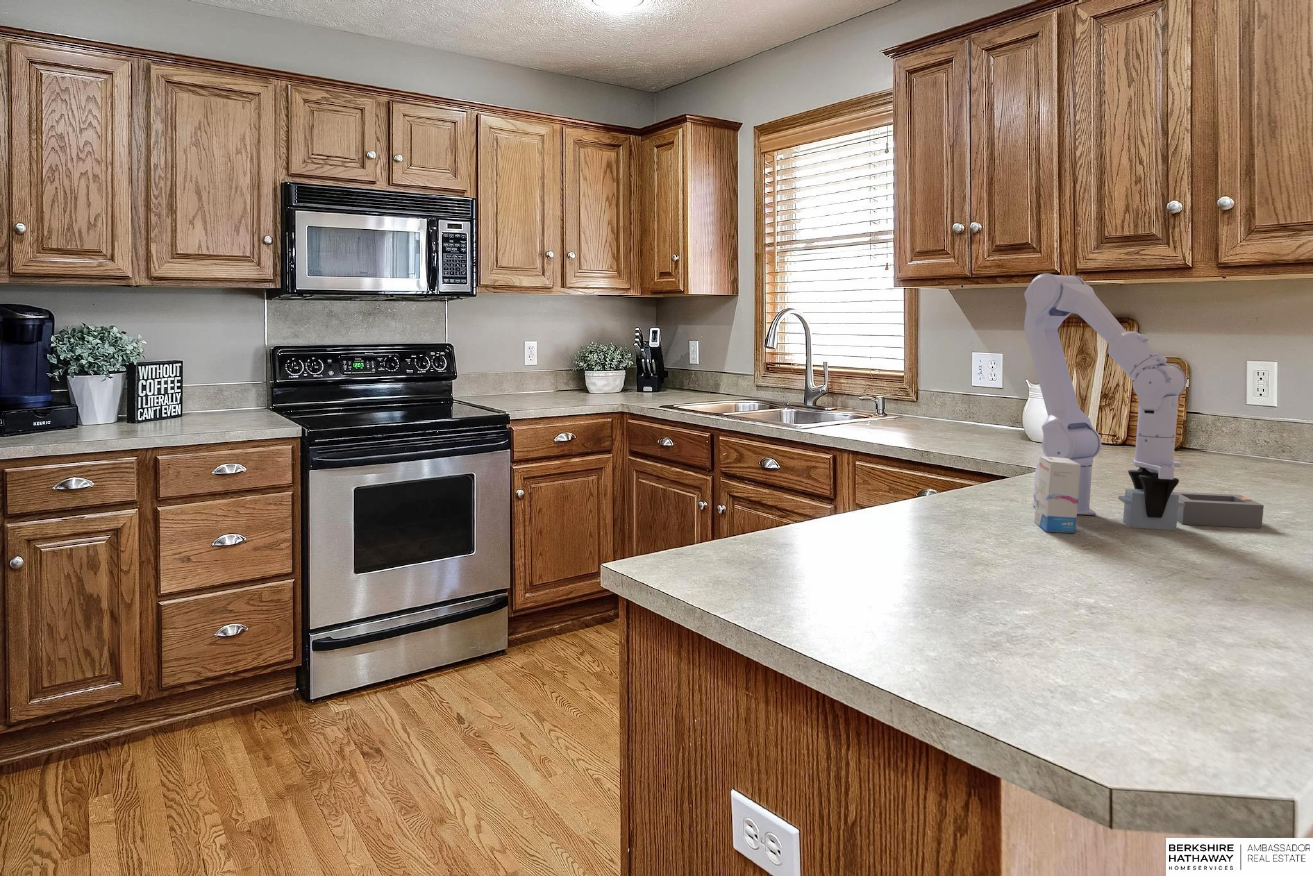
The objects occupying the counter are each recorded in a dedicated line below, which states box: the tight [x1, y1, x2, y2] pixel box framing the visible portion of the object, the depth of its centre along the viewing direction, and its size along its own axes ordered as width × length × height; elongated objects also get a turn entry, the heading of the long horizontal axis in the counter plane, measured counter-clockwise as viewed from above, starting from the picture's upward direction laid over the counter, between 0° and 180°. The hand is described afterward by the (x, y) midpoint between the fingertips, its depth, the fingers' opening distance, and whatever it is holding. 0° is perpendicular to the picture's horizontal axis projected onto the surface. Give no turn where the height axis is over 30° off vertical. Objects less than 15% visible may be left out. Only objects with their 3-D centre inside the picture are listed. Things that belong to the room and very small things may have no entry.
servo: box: [1117, 488, 1185, 531], centre depth 146 cm, size 9×4×7 cm, turn 75°
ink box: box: [1033, 455, 1081, 534], centre depth 144 cm, size 8×5×12 cm, turn 168°
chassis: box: [1173, 491, 1264, 529], centre depth 150 cm, size 12×10×4 cm
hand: (1149, 514), depth 146 cm, fingers closed on servo, 4 cm apart
